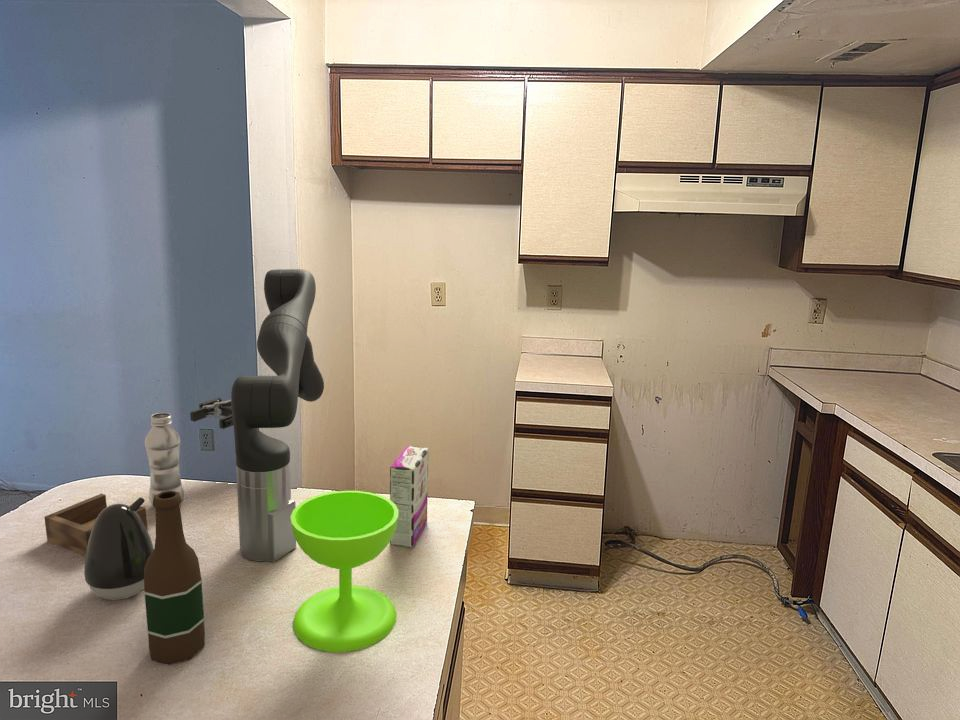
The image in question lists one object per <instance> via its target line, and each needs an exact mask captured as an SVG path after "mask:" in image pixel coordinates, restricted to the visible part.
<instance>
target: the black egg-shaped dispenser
mask: <svg viewBox="0 0 960 720" xmlns="http://www.w3.org/2000/svg"><path fill="white" fill-rule="evenodd" d="M144 503H145V499H144V498H143V497H141V496H140V497H139V498H137V499H136V500H135V501H134V502H133V503H132V504H130V505H128V504H126V503H125V504H124V503H114V504H111V505H108V506H107V507H106V508H105V509H103V510H102V511H101V512H100V514H99V515H98V517H97V519H96V520H95V522H94V525H93V527H92V530H91V533H90V537H89V540H88V544H87V549H86V556H84V570H83V571H84V573H83V574H84V580H85V583H86V584H87V585H88V586H89V588H90V589H91V591H92V593H94V594H95V595H96V596H98V597H100V598H102V599H105V600H111V601H112V600H113V601H115V600H116V601H118V600H125V599H128V598H130V597H133V596H136V595H137V594H139V593H140V592H141V591H144V568H145V565H146V562H147V559H148V557H149V556H150V554H151V553H152V551H153V550H154V545H153V541H152V538H151V535H150V533H149V531H147V529H148V528H147V529H146V527H145V525H144V523H143V521H142V520H141V518H140V517H139V515H138V514H137V513H136V511H137V510H138V509H139V508H140V507H141V506H143V504H144Z"/></svg>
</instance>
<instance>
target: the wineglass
mask: <svg viewBox="0 0 960 720" xmlns="http://www.w3.org/2000/svg"><path fill="white" fill-rule="evenodd" d="M398 512H399V510H398V508H397V506H396V504H394V503H393V502H392V501H391V500H390V498H387V497H385V496H384V495H381V494H377V493H373V492H369V491H362V490H338V491H329V492H326V493H322V494H317V495H314V496H312V497H310V498H307V499H306V500H303V501H302V502H300V503H299V504H297V506H296V508H295V509H294V510H293V512H292V514H291V516H290V517H291V523H292V529H293V535H294V537H295V539H296V544H298V547H299V548H300V549H301V550H302V552H303V553H304V554H306V556H307V557H309V559H310V560H312V561H313V562H315V563H317V564H319V565H322V566H325V567H328V568H331V569H335V570H339V571H338V578H339V581H338V584H339V586H334V587H331V588H327V589H325V590H324V589H323V590H321V591H320V592H317V593H315V594H313V595H311V596H310V597H309V598H308V599H306V600H305V601H304V602H302V604H301V605H300V606H299V607H298V609H297V610H296V612H295V614H294V617H293V621H292V626H293V627H292V628H293V632H294V634H295V635H296V637H297V639H298V640H299V641H301V642H302V643H303V644H305V646H309V647H311V648H312V649H313V648H314V649H316V650H318V651H324V652H329V653H330V652H331V653H344V652H345V653H346V652H347V653H348V652H352V651H357V650H359V651H360V650H361V649H362V650H363V649H365V648H368V647H371V646H373V645H375V644H377V643H378V642H380V641H381V640H383V639H385V637H386V636H388V634H389V633H391V632H392V631H393V628H394V627H395V625H396V622H397V615H398V614H397V610H396V608H395V605H394V603H393V602H392V601H391V599H389V597H388V596H387V595H385V594H383V593H382V592H380V591H378V590H376V589H373V588H370V587H368V586H367V587H366V586H361V585H353V578H352V577H353V573H352V572H353V569H354V568H357V567H361V566H363V565H365V564H366V563H367V564H368V563H369V562H370V561H373V560H374V559H376V558H377V557H378V556H380V555H381V553H382V552H383V551H384V550H385V549H386V548H387V547H388V545H389V544H390V541H391V539H392V537H393V535H394V533H395V531H396V527H397V521H398Z"/></svg>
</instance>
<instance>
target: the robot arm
mask: <svg viewBox="0 0 960 720" xmlns="http://www.w3.org/2000/svg"><path fill="white" fill-rule="evenodd" d="M316 290H317V287H316V279H315V277H314V275H313V273H312V272H311V271H310V270H306V269H302V268H293V269H292V268H289V269H288V268H285V269H284V268H283V269H279V268H277V269H271V270H268V271H267V272H266V274H265V275H264V280H263V291H264V298H265V302H266V305H267V308H268V310H269V314H267V316H266V317H265V318H264V320H263V321H262V324H261V325H260V329H259V333H258V336H257V340H256V349H257V351H258V354H259V355H260V358H261V360H262V361H263V362H264V363H265V365H266V366H268V367H269V369H271V370H272V371H273V373H274V374H276V375H240V376H238V377H237V378H235V380H234V382H233V384H232V386H231V392H230V393H231V395H230V399H227V400H226V401H223V400H222V398H221V397H218V398H214V399H210V400H208V401H207V400H206V401H204V402H201V403H198V409H196V410H191V412H190V413H189V415H190V421H191V422H195V423H196V422H197V421H200V420H203V419H206V418H211V417H214V418H215V419H219V420H218V421H219V423H218V425H219V429H221V430H225V429H227V428H229V427H232V426H233V435H234V436H233V437H234V449H235V451H234V452H235V463H236V466H235V467H236V489H237V490H236V491H237V513H238V514H237V517H238V533H239V534H238V535H239V552H240V555H241V556H242V557H243V558H245V560H250V561H255V562H266V561H270V562H277V561H278V560H280V559H281V558H283V557H284V556H285V555H286V554H288V553H290V552H291V551H293V550H294V549H296V548H297V541H296V539H295V537H294V535H293V529H292V523H291V517H290V516H291V514H292V512H293V510H294V509H295V508H296V507H297V506H296V501H295V500H294V499H292V494H291V493H292V491H291V490H292V489H291V488H292V487H291V451H290V450H291V449H290V447H289V446H288V444H287V443H286V442H285V441H282V440H279V439H277V438H275V437H272V436H269V435H267V434H265V433H264V432H261V430H259V429H276V428H277V429H278V428H279V429H281V428H286V427H289V426H290V425H292V423H293V421H294V420H295V417H296V414H297V409H298V401H299V398H300V399H301V400H303V401H306V402H309V403H310V402H311V403H313V402H315V401H317V400H319V399H320V398H321V397H322V396H323V393H324V389H325V381H324V377H323V376H322V373H321V371H320V370H319V369H320V368H319V367H318V365H317V364H316V362H315V358H314V351H313V350H314V349H313V344H312V342H311V338H310V337H309V336H308V325H309V319H310V316H311V312H312V309H313V306H314V303H315V300H316V299H315V298H316V294H317V293H316ZM219 411H220V413H219Z"/></svg>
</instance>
